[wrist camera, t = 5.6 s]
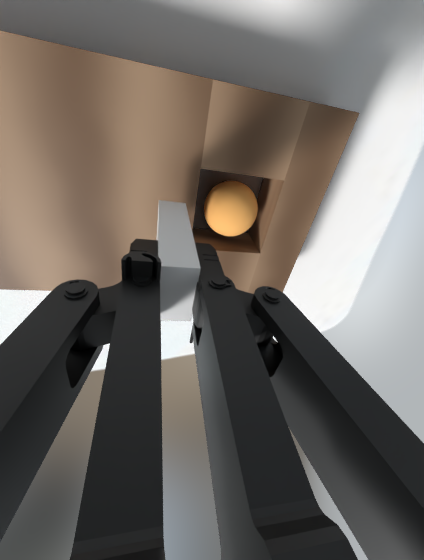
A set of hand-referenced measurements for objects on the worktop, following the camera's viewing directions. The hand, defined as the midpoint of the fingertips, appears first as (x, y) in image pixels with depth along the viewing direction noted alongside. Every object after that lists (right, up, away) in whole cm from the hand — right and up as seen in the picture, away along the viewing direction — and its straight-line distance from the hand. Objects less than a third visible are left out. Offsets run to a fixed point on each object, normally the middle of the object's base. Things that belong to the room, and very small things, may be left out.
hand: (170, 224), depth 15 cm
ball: (+4, +2, +4) cm, 6 cm away
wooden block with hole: (-1, +3, +4) cm, 6 cm away
